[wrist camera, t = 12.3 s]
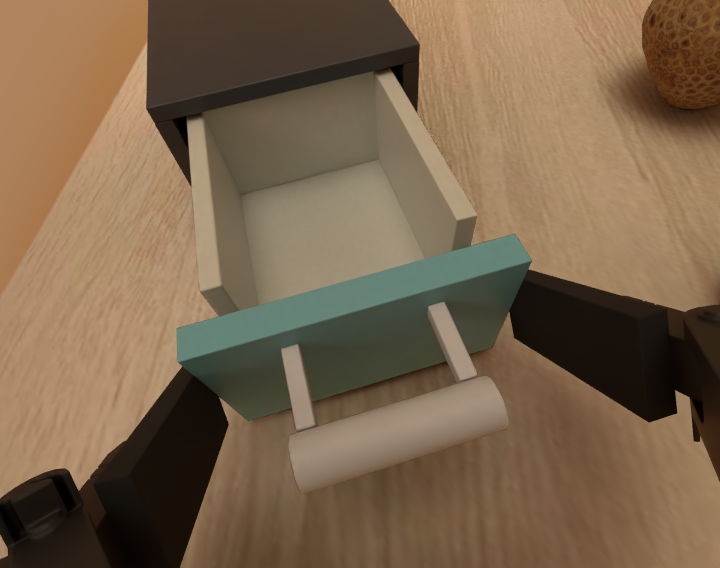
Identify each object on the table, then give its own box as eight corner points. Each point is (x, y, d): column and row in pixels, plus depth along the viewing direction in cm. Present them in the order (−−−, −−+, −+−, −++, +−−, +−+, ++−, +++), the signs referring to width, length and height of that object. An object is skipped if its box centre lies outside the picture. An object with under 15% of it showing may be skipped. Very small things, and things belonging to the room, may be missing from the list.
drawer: (540, 442, 17) (614, 386, 11) (262, 532, 16) (182, 523, 10) (398, 159, 26) (398, 50, 20) (220, 205, 25) (168, 105, 20)
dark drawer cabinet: (414, 183, 26) (420, 43, 19) (218, 234, 25) (145, 108, 18) (354, 64, 34) (342, -66, 27) (203, 100, 33) (148, -25, 26)
